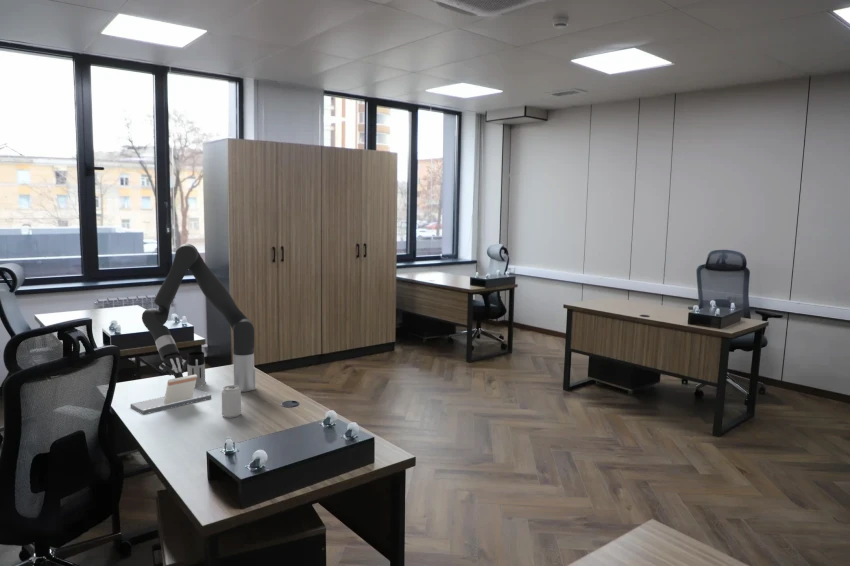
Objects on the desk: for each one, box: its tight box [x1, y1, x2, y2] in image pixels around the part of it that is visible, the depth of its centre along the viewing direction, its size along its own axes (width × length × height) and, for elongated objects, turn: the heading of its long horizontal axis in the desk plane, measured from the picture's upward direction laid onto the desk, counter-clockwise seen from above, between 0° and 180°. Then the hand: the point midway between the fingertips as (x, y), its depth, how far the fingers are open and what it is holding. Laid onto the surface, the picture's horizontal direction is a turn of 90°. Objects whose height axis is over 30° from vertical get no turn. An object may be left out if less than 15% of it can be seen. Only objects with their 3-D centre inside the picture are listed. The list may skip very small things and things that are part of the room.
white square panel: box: [164, 374, 197, 404], centre depth 252 cm, size 12×1×12 cm, turn 138°
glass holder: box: [186, 351, 207, 387], centre depth 283 cm, size 9×14×15 cm, turn 23°
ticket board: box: [130, 388, 212, 415], centre depth 258 cm, size 30×12×2 cm, turn 138°
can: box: [221, 384, 242, 419], centre depth 244 cm, size 8×8×12 cm
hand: (181, 381), depth 251 cm, fingers closed
